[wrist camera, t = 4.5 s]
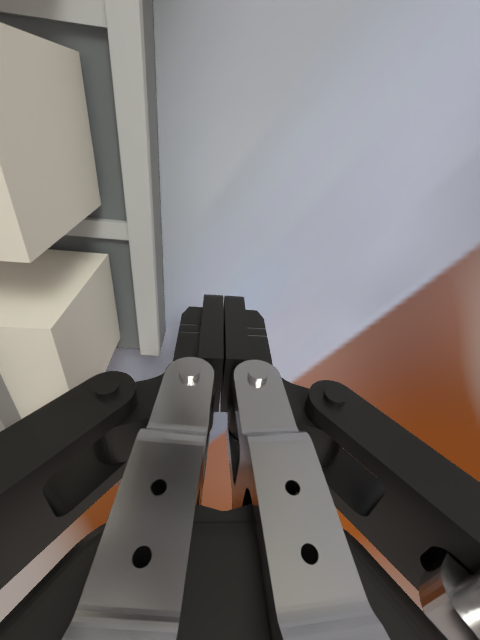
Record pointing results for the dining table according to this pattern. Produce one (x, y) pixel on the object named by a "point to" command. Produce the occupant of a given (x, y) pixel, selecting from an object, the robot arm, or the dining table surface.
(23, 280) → the cream striped block
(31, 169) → the tab
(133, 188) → the switch board
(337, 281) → the dining table surface
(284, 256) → the dining table surface
